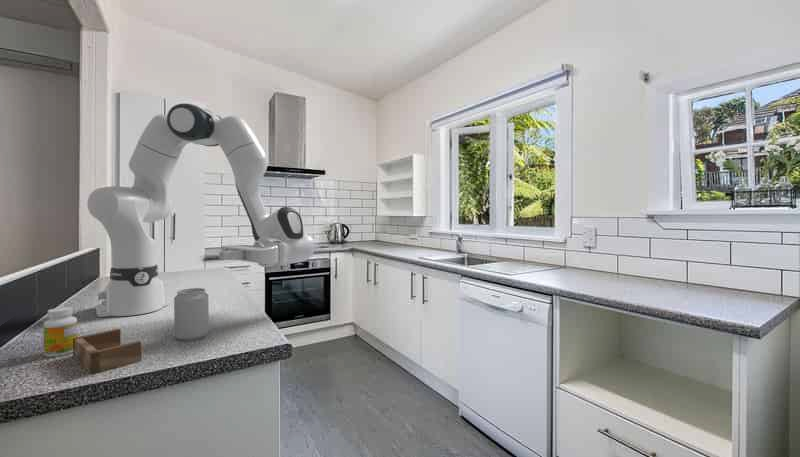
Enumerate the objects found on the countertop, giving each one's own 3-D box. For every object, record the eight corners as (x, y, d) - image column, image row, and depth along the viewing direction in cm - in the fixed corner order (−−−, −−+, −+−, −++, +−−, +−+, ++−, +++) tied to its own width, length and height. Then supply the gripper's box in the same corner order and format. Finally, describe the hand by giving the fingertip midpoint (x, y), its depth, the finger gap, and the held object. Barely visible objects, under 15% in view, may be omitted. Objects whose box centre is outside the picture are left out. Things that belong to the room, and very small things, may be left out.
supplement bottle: (36, 356, 75) (35, 311, 75) (64, 347, 81) (63, 305, 80) (58, 358, 75) (57, 313, 74) (84, 348, 80) (83, 306, 79)
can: (193, 343, 84) (192, 293, 84) (166, 340, 85) (166, 292, 85) (215, 333, 91) (215, 287, 91) (190, 330, 93) (190, 286, 92)
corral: (73, 356, 75) (72, 338, 75) (118, 345, 82) (118, 328, 82) (92, 374, 67) (91, 353, 67) (141, 360, 74) (141, 341, 74)
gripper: (248, 239, 111) (202, 241, 100) (288, 243, 99) (241, 246, 88) (248, 259, 111) (203, 263, 100) (288, 265, 99) (241, 271, 88)
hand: (221, 255), depth 94 cm, fingers closed
